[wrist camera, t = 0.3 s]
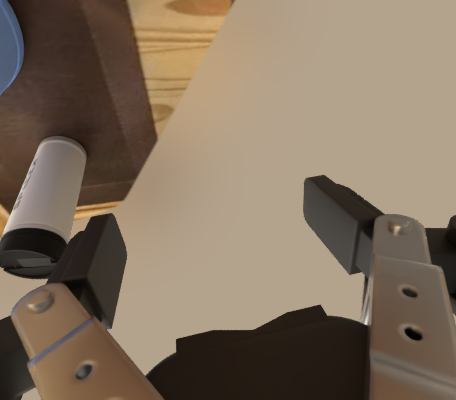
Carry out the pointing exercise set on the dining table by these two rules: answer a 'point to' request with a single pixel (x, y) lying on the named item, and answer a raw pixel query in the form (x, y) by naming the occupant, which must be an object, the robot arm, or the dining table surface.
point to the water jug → (9, 45)
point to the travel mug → (44, 210)
